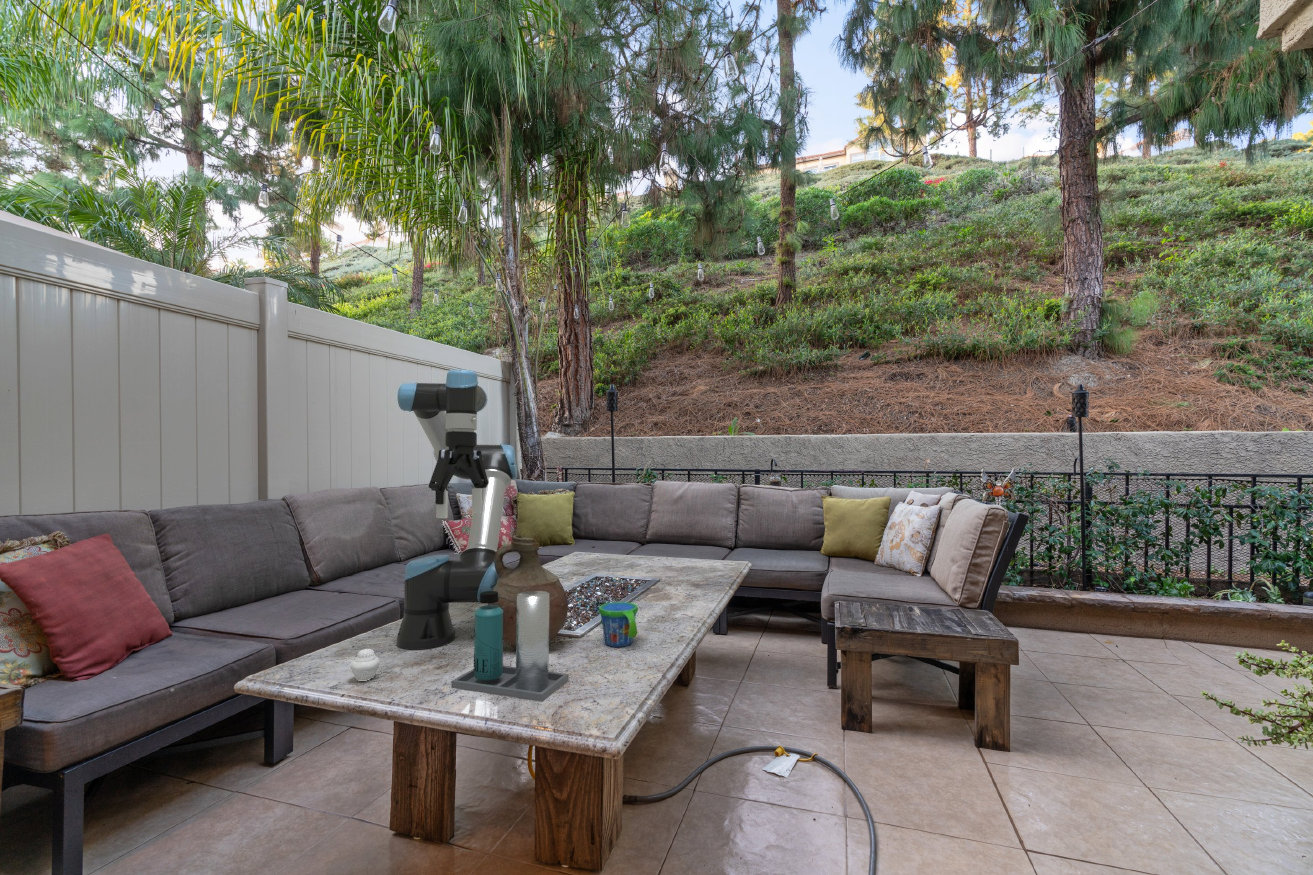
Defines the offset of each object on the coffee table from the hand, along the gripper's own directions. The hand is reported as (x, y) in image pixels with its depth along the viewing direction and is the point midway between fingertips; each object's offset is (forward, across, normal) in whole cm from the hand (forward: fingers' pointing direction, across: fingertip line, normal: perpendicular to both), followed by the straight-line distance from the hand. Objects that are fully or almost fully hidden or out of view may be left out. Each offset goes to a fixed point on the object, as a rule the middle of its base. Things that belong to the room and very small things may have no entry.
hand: (460, 515), depth 141 cm
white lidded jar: (+37, -15, +14) cm, 42 cm away
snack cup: (+37, +27, -32) cm, 56 cm away
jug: (+37, +17, -9) cm, 42 cm away
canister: (+36, -9, -26) cm, 45 cm away
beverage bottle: (+36, -10, -16) cm, 40 cm away
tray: (+37, -9, -21) cm, 43 cm away
